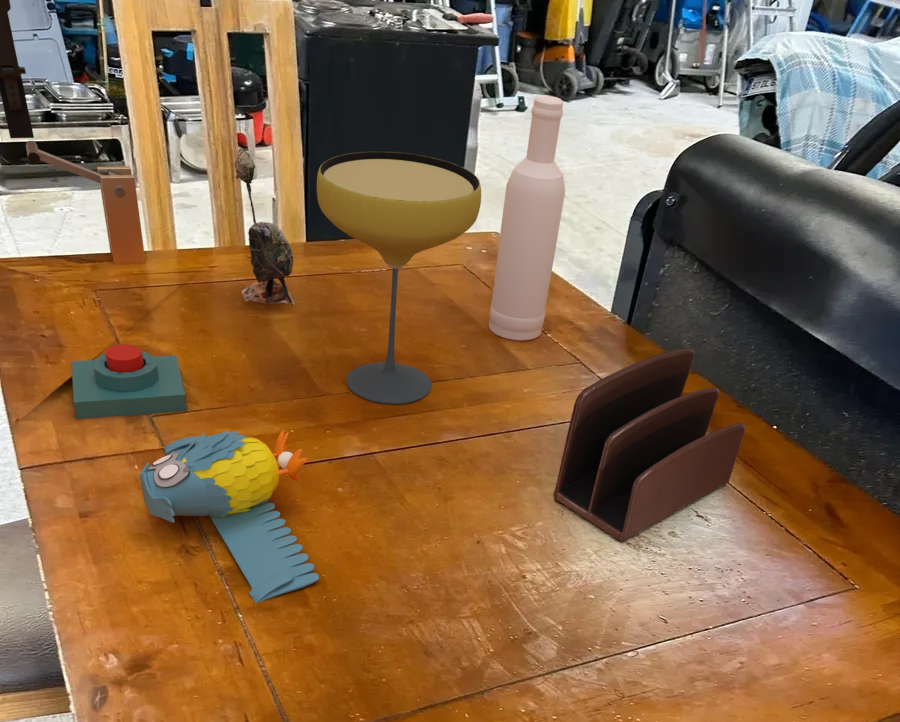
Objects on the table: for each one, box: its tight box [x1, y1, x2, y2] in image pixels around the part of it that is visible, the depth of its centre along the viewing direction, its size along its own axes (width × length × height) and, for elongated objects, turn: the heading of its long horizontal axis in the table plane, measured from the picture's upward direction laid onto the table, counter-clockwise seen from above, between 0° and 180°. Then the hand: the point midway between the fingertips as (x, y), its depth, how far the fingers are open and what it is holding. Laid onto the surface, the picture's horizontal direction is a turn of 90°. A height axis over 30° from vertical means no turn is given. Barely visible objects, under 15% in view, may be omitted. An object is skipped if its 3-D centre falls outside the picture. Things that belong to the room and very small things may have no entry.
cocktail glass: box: [316, 151, 482, 405], centre depth 105 cm, size 18×18×25 cm
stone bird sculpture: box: [234, 150, 296, 309], centre depth 121 cm, size 8×11×20 cm
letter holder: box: [553, 347, 746, 543], centre depth 95 cm, size 10×20×14 cm, turn 132°
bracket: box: [96, 165, 146, 266], centre depth 127 cm, size 12×9×14 cm
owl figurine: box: [139, 429, 320, 604], centre depth 86 cm, size 28×9×15 cm
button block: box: [71, 351, 188, 420], centre depth 103 cm, size 12×10×4 cm
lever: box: [25, 140, 118, 185], centre depth 121 cm, size 13×6×2 cm, turn 112°
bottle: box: [488, 94, 566, 342], centre depth 119 cm, size 8×8×30 cm
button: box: [104, 344, 144, 373], centre depth 102 cm, size 4×4×2 cm
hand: (21, 136), depth 110 cm, fingers closed
